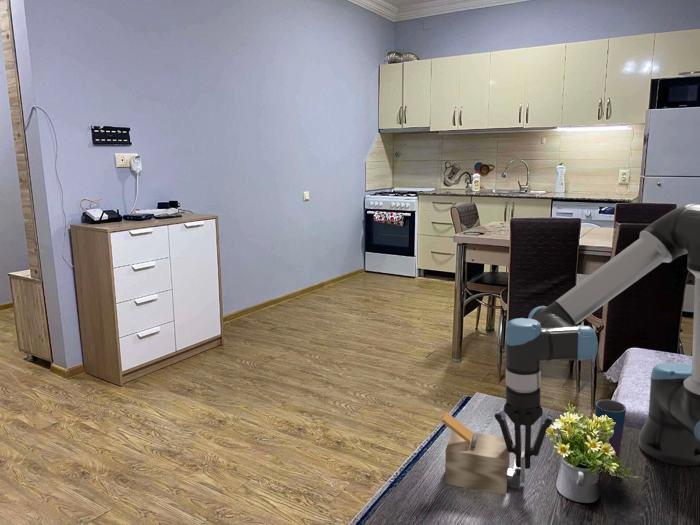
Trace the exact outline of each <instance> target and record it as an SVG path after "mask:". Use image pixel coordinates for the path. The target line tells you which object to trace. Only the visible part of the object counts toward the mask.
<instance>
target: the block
mask: <svg viewBox="0 0 700 525" xmlns="http://www.w3.org/2000/svg"><path fill="white" fill-rule="evenodd" d="M472 432H473V431H472ZM473 434H477V435H478V437H477V441H476V445H475V447H471V441H472V438H473ZM473 434H472V437H471V441H470V442H469V443H468V442H467V441H465V440H464V439H463V438H461V437H460V436H459V435H458V434H456V433H455V432H454V431H453V430H452V431H451V433H450V436H449V440H448V441H447V442H448V443H447V445H446V447H445V464H446V475H445V485H449V486H454V487H459V488H460V487H461V488H465V489H471V490H477V491H482V492H488V493H492V494H493V493H494V494H498V495H504V496H506V495H507V490H508V486H507V472H508V468H510V463H511V462H510V458H511V456H510V455H511V453H510V452H508V450H507V447H506V443H505V440H504V437H503V436H500V435H492V434H487V433H481V432H479V433H478V432H473Z"/></svg>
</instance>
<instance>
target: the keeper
mask: <svg viewBox="0 0 700 525" xmlns="http://www.w3.org/2000/svg"><path fill="white" fill-rule="evenodd" d="M442 423H443V424H444V425H445V426H446V427H447V428H449V429H450V430H453V431H454V432H455V433H456V434H458V435H459V436H460V437H461V438H463V439H464V440H465V441H467V442H468V443H469V442H470V441H471V437H472V434H473V431H472V430H470V429H469V428H467V426H465V425H464V424H462V423H461V421H459V420H457V419H456V418H455V417H454V416H452V415H451V414H450V413H449V412H447V411H445V412H444V414H443V416H442V418H441V424H442ZM477 437H478V435H477V434H473V438H472V441H471V447H475V445H476V441H477Z"/></svg>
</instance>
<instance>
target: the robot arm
mask: <svg viewBox="0 0 700 525" xmlns="http://www.w3.org/2000/svg"><path fill="white" fill-rule="evenodd" d="M686 254H687V263H686V264H687V266H686V267H687V270H688V271H689V272H690V273H691V274H693V276H694V295H693V296H694V298H693V300H694V301H693V324H692V325H693V326H692V327H693V329H692V349H691V350H692V351H691V352H692V353H691V364H690V363H689V364H688V363H680V362H663V363H658V364H656V365H654V366H653V368H652V370H651V375H650V386H649V400H648V402H649V404H648V415H647V416H648V417H647V418H646V420H645V422H644V425H643V426H642V428H641V430H640V432H639V435H638V447H639V448H640V449H641V450H642V451H643V453H645V454H646V455H648V456H649V457H652V458H653V459H656V460H658V461H659V462H660V461H661V462H663V463H667V464H669V465H670V464H671V465H675V466H676V465H677V466H683V467H685V466H686V467H693V466H698V465H700V203H699V202H697V203H696V202H695V203H688V204H685V205H684V204H683V205H681V206H679V207H677V208H675V209H673V210H671V211H668V212H667V213H666V214H664V215H662V216H661V217H660V218H658V219H657V220H655V221H653V222H652V223H651V224H649V225H648V226H647V227H645V228H644V229H642V230H641V231H640V232H639V238H638V239H637V240H635V241H633V242H632V243H631V244H630V245H629V246H627V247H626V248H624V249H622V250H621V251H620V252H619V253H618V254H617V255H615V256H614V257H612V258H611V259H610V260H609V261H606V263H605V264H603V265H602V266H600V267H599V268H597V269H596V270H595V271H594V272H592V273H591V274H590V275H588V276H587V277H585V278H584V279H582V280H581V281H580V282H579V283H578V284H576V285H575V286H574V287H572V288H571V289H569V290H568V291H567V292H565V293H564V294H562V295H561V296H560V297H559V298H557V299H555V301H553V302H552V303H551V304H549V305H547V306H545V305H541V306H540V305H539V306H537V307H534V308H533V309H532V310H531V311H530V312H529V314H528V317H527V318H525V317H520V318H519V317H518V318H512V319H510V320H509V321H508V322H507V323H506V326H505V339H504V342H505V384H506V386H505V403H504V406H503V408H501V409H496V410H495V413H494V418H495V420H496V421H497V422H498V424H499V428H500V429H501V434H502V437H504V440H505V443H506V447H507V450H508V452H510V454H511V453H512V454H514V455H515V459H516V467H518V468H521V478H520V484H522V483H523V484H525V483H526V469H527V470H529V469H531V458H532V456H535V457H537V456H539V454H540V450H541V448H542V445H543V441H544V439H545V437H546V436H545V435H546V433H547V430H548V429H549V427H550V426H551V425H552V424H553V417H552V415H551V414H546V413H545V412H543V407H542V406H541V388H540V387H541V374H542V373H541V371H542V370H541V365H542V364H541V363H542V362H545V363H546V362H563V361H564V362H565V361H578V362H579V361H582V360H583V361H584V360H591V359H594V358H595V357H596V356H597V353H598V348H599V347H598V346H599V342H598V337H597V334H596V332H595V330H594V328H593V327H591V326H589V325H580V324H579V323H581V322H582V321H583V320H585V319H587V317H589V316H590V315H592V314H593V313H594V312H596V311H597V310H599V309H600V308H601V307H603V306H604V305H606V304H607V303H608V302H610V301H611V300H613V299H614V298H615V297H616V296H618V295H619V294H621V293H622V292H624V291H625V290H626V289H627V288H629V287H630V286H632V285H634V283H636V282H637V281H639V280H640V279H642V277H644V276H646V275H647V274H649V273H650V272H651V271H653V270H654V269H655V268H657V267H658V266H660V265H661V264H662V263H667V264H668V263H671V262H673V261H674V260H676V259H677V258H678V257H681V256H684V255H686ZM507 416H508V418H509V420H510V421H511V422H512V423H513V424H514V426H513V427H514V428H513V429H514V442H513V439H512V435H511V432H510V429H509V425H508V422H507V419H506V417H507ZM539 419H540V426H539V429H538V432H537V435H536V439H535V441H534V444H533V446H532V447H531V445H532V444H531V443H532V426H533V425H535V423H536V422H537V421H538V420H539ZM522 426H525V430H524V431H525V432H524V438H525V439H524V451H523V450H522V429H521V428H522ZM514 443H515V444H514Z"/></svg>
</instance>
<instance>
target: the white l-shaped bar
mask: <svg viewBox="0 0 700 525" xmlns="http://www.w3.org/2000/svg"><path fill="white" fill-rule="evenodd" d="M444 467H445V471H444V472H445V474H444V475H445V476H446V463H445V466H444ZM507 487H512V489H513V488H514V489H519V490H520V487H521V468H518V467H516V458H514V462H513V468H510V467H509V468H508V472H507Z"/></svg>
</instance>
